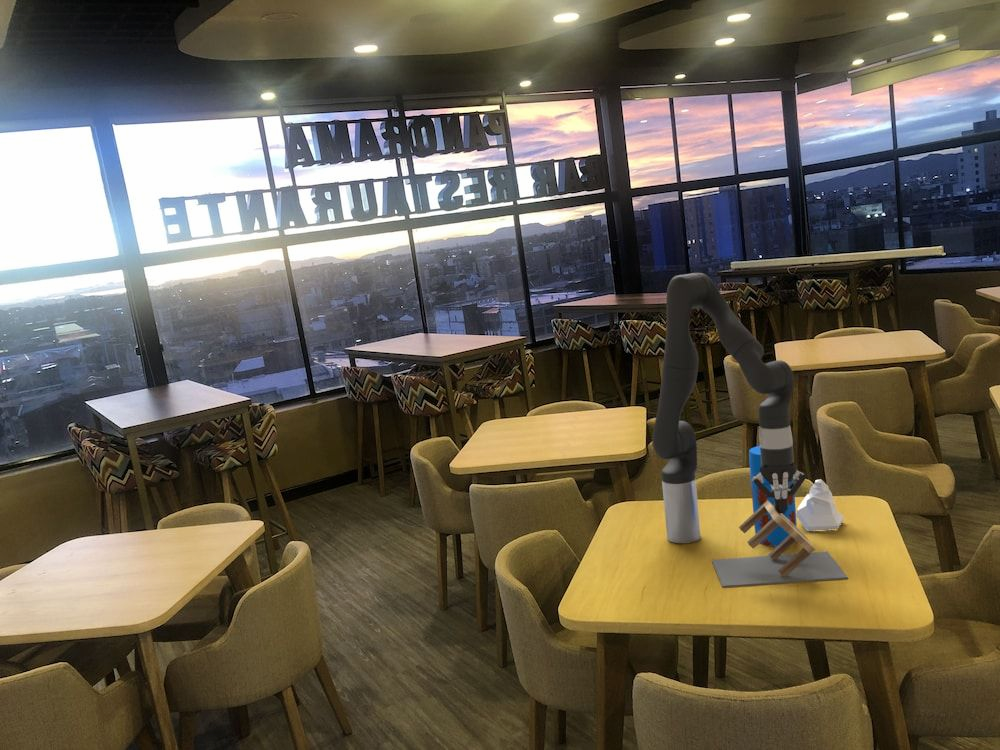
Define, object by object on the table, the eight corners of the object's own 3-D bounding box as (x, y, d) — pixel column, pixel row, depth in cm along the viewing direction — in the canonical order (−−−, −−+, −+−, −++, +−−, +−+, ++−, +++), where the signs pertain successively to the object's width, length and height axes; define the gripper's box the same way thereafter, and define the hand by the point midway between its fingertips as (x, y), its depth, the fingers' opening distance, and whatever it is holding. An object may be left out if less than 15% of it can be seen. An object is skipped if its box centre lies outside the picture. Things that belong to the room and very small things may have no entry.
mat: (711, 561, 209) (711, 559, 209) (827, 552, 205) (827, 551, 205) (722, 587, 193) (722, 585, 193) (847, 578, 190) (847, 577, 190)
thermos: (784, 549, 211) (777, 457, 207) (747, 541, 219) (740, 452, 215) (804, 536, 218) (799, 447, 214) (769, 529, 226) (762, 443, 222)
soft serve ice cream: (848, 522, 228) (858, 478, 223) (830, 544, 217) (840, 498, 212) (804, 506, 236) (813, 463, 230) (785, 527, 225) (793, 483, 219)
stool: (773, 558, 205) (738, 527, 205) (802, 531, 203) (767, 499, 203) (784, 577, 193) (748, 544, 193) (815, 549, 191) (779, 515, 191)
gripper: (800, 437, 197) (804, 505, 200) (745, 442, 199) (750, 509, 201) (808, 445, 190) (813, 515, 192) (751, 450, 191) (756, 519, 194)
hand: (781, 512), depth 197 cm, fingers closed
